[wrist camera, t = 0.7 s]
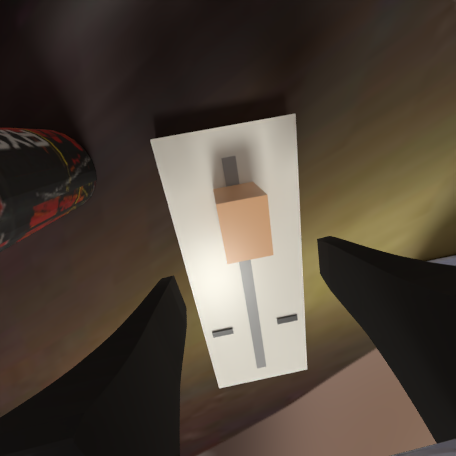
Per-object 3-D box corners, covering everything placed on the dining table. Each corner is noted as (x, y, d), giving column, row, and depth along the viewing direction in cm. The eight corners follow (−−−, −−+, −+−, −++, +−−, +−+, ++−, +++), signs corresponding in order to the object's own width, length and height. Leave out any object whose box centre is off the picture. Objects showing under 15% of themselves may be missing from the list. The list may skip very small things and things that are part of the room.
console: (285, 115, 17) (296, 113, 15) (300, 353, 28) (307, 371, 25) (155, 139, 17) (149, 139, 15) (218, 371, 27) (219, 390, 25)
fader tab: (253, 181, 17) (267, 194, 13) (259, 231, 18) (273, 255, 15) (212, 189, 17) (215, 204, 13) (222, 238, 18) (227, 264, 15)
